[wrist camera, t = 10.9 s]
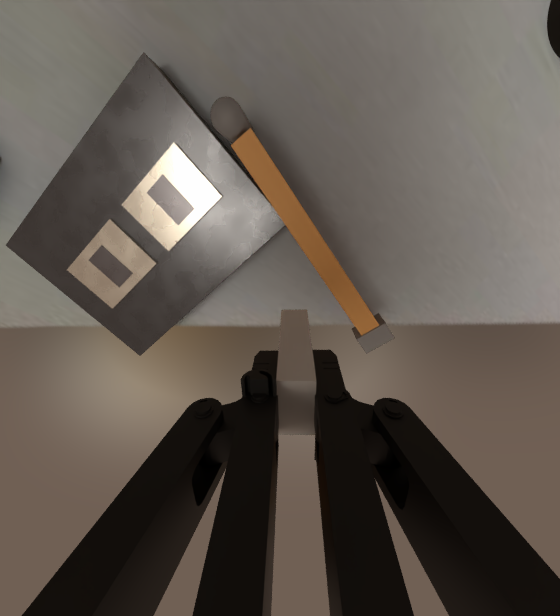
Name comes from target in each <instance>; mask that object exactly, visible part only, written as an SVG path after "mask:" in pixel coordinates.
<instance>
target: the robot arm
mask: <svg viewBox="0 0 560 616" xmlns="http://www.w3.org/2000/svg"><path fill="white" fill-rule="evenodd" d="M241 386H242V395H243V397H242V398H241V399H240V400H238V401H236V402H233V403H230V404H226V405H221V403H220V402H219V401H218V400H216V399H213V398H205V399H200V400H198V401H196V402H194V403H192V404H191V405H190V406H189V407H188V408H187V409H186V410H185V412H184V413H183V414H182V416H181V417H180V418H179V419H178V420H177V422H176V423H175V424H174V425H173V427H172V428H171V429H170V431H169V432H168V433H167V434H166V436H165V437H164V438H163V439H162V441H161V442H160V443H159V444H158V446H157V447H156V448H155V449H154V451H153V452H152V453H151V454H150V456H149V457H148V458H147V459H146V461H145V462H144V463H143V464H142V466H141V467H140V468H139V469H138V471H137V472H136V473H135V475H134V476H133V477H132V478H131V479H130V481H129V482H128V483H127V484H126V486H125V487H124V488H123V489H122V491H121V492H120V493H119V494H118V496H117V497H116V498H115V499H114V501H113V502H112V503H111V504H110V506H109V507H108V508H107V509H106V511H105V512H104V513H103V514H102V516H101V517H100V518H99V520H98V521H97V522H96V523H95V525H94V526H93V527H92V528H91V530H90V531H89V532H88V533H87V535H86V536H85V537H84V538H83V540H82V541H81V542H80V543H79V545H78V546H77V547H76V548H75V550H74V551H73V552H72V553H71V555H70V556H69V557H68V558H67V560H66V561H65V562H64V563H63V565H62V566H61V567H60V568H59V570H58V571H57V572H56V573H55V575H54V576H53V577H52V578H51V580H50V581H49V582H48V583H47V585H46V586H45V587H44V588H43V590H42V591H41V592H40V594H39V595H38V596H37V597H36V599H35V600H34V601H33V602H32V603H31V605H30V606H29V607H28V608H27V610H26V611H25V612H24V614H23V615H22V616H153V615H154V613H155V611H156V609H157V607H158V605H159V603H160V601H161V599H162V597H163V595H164V593H165V591H166V589H167V587H168V585H169V583H170V581H171V579H172V577H173V575H174V572H175V570H176V569H177V567H178V565H179V562H180V560H181V558H182V556H183V554H184V552H185V550H186V548H187V546H188V544H189V542H190V540H191V538H192V536H193V534H194V532H195V530H196V528H197V526H198V524H199V522H200V520H201V518H202V516H203V514H204V512H205V510H206V508H207V506H208V504H209V502H210V500H211V497H212V495H213V493H214V491H215V489H216V487H217V485H218V483H219V481H220V479H221V477H222V475H223V473H224V471H225V469H226V472H225V476H224V481H223V484H222V489H221V494H220V498H219V502H218V506H217V511H216V515H215V519H214V524H213V529H212V533H211V538H210V542H209V546H208V550H207V554H206V559H205V563H204V568H203V572H202V577H201V581H200V585H199V590H198V594H197V598H196V603H195V607H194V612H193V616H271V601H272V580H273V557H274V535H275V513H276V491H277V489H276V488H277V468H278V447H279V445H278V434H284V435H288V434H289V435H315V460H316V462H317V473H318V484H319V496H320V507H321V517H322V518H321V519H322V530H323V540H324V552H325V563H326V574H327V586H328V597H329V607H330V616H414V614H413V611H412V607H411V604H410V600H409V597H408V593H407V590H406V586H405V583H404V579H403V576H402V572H401V569H400V565H399V562H398V558H397V555H396V551H395V548H394V544H393V541H392V537H391V534H390V530H389V526H388V523H387V519H386V516H385V512H384V509H383V506H382V502H381V498H380V495H379V491H378V488H377V485H376V481H377V483H378V485H379V487H380V488H381V490H382V492H383V494H384V496H385V498H386V500H387V501H388V503H389V505H390V507H391V509H392V511H393V513H394V514H395V516H396V518H397V520H398V522H399V524H400V526H401V527H402V529H403V531H404V533H405V535H406V536H407V538H408V540H409V542H410V544H411V546H412V547H413V549H414V551H415V553H416V555H417V557H418V559H419V561H420V562H421V564H422V566H423V568H424V570H425V572H426V574H427V575H428V577H429V579H430V581H431V583H432V585H433V586H434V588H435V590H436V592H437V594H438V596H439V598H440V599H441V601H442V603H443V605H444V607H445V609H446V611H447V612H448V614H449V616H560V579H559V578H558V576H557V575H556V574H555V573H554V572H553V571H552V570H551V569H550V567H549V566H548V565H547V564H546V563H545V562H544V561H543V559H542V558H541V557H540V556H539V555H538V554H537V552H536V551H535V550H534V549H533V548H532V547H531V546H530V545H529V543H527V541H526V540H525V539H524V538H523V537H522V535H521V534H520V533H519V532H518V531H517V530H516V529H515V527H514V526H513V525H512V524H511V523H510V522H509V520H508V519H507V518H506V517H505V516H504V515H503V514H502V513H501V511H500V510H499V509H498V508H497V507H496V506H495V505H494V503H493V502H492V501H491V500H490V499H489V498H488V496H486V494H485V493H484V492H483V491H482V490H481V488H480V487H479V486H478V485H477V484H476V483H475V482H474V480H473V479H472V478H471V477H470V476H469V475H468V474H467V473H466V471H465V470H464V469H463V468H462V467H461V466H460V465H459V463H458V462H457V461H456V460H455V459H454V458H453V457H452V455H451V454H450V453H449V452H448V451H447V450H446V449H445V447H444V446H443V445H442V444H441V443H440V442H439V441H438V439H437V438H436V437H435V436H434V435H433V434H432V433H431V431H430V430H429V429H428V428H427V427H426V426H425V425H424V423H423V422H422V421H421V420H420V419H419V418H418V417H417V416H416V414H415V413H414V412H413V411H412V410H411V409H410V407H408V406H407V405H406V404H405V403H403V402H401V401H399V400H396V399H392V398H382V399H379V400H377V401H376V402H375V404H374V405H369V404H365V403H362V402H359V401H357V400H355V399H353V398H352V397H351V395H350V393H349V392H348V391H347V390H346V389H345V386H344V382H343V378H342V375H341V371H340V367H339V364H338V360H337V356H336V355H335V354H334V353H333V352H332V351H331V350H312V344H311V336H310V329H309V321H308V313H307V310H282V312H281V325H280V338H279V351H259V353H258V354H257V355H256V356H255V358H254V363H253V367H252V370H251V371H248V372H247V373H245V374H244V375H243V376H242V378H241ZM375 479H376V481H375Z"/></svg>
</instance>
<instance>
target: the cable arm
mask: <svg viewBox="0 0 560 616" xmlns="http://www.w3.org/2000/svg"><path fill="white" fill-rule="evenodd" d="M211 121H212V124H213V126H214V128H215V129H216V130H217V131H218V132H219V133H220V134H222V135H223V136H224V137H225V138H226V139H228V140H229V141H230V142H231V143H232V145H231V147H232V148H233V150H234V151H235V152H236V154H237V155H238V157H239V158H240V160H241V161H242V163H243V164H244V166H245V167H246V168H247V170H248V171H249V173H250V174H251V176H252V177H253V179H254V180H255V182H256V183H257V184H258V186H259V187H260V189H261V190H262V192H263V193H264V195H265V196H266V198H267V199H268V200H269V202H270V203H271V205H272V206H273V208H274V209H275V211H276V212H277V214H278V215H279V216H280V218H281V219H282V221H283V222H284V224H285V225H286V227H287V228H288V230H289V231H290V232H291V234H292V235H293V237H294V238H295V240H296V241H297V243H298V244H299V246H300V247H301V248H302V250H303V251H304V253H305V254H306V256H307V257H308V259H309V260H310V262H311V263H312V264H313V266H314V267H315V269H316V270H317V272H318V273H319V275H320V276H321V278H322V279H323V280H324V282H325V283H326V285H327V286H328V288H329V289H330V291H331V292H332V294H333V295H334V296H335V298H336V299H337V301H338V302H339V304H340V305H341V307H342V308H343V309H344V311H345V312H346V314H347V315H348V317H349V318H350V320H351V321H352V323H353V324H354V325H355V327H354V328H352V330H353V332H354V335H355V337H356V339H357V341H358V342H359V344H360V345H361V347H362V348H363V349H364V351H365V352H366V353H369V352H370V351H372V350H374V349H376V348H378V347H380V346H381V345H383V344H385V343H387V342H389V341H390V340H392V339H394V338H395V337H394V335H393V334H392V332H391V331H390V329H389V328H388V326H387V324H386V323H385V322H384V320H383V319H382V317H381V316H380V315H379V313H378V314H376V315H374V316H373V315H372V313H371V312H370V310H369V309H368V307H367V305H366V304H365V302H364V301H363V299H362V298H361V296H360V295H359V293H358V292H357V290H356V289H355V287H354V285H353V284H352V282H351V281H350V279H349V278H348V276H347V275H346V273H345V272H344V270H343V269H342V267H341V266H340V264H339V262H338V261H337V259H336V258H335V256H334V255H333V253H332V252H331V250H330V249H329V247H328V246H327V244H326V243H325V241H324V239H323V238H322V236H321V235H320V233H319V232H318V230H317V229H316V227H315V226H314V224H313V223H312V221H311V219H310V218H309V216H308V215H307V213H306V212H305V210H304V209H303V207H302V206H301V204H300V203H299V201H298V200H297V198H296V196H295V195H294V193H293V192H292V190H291V189H290V187H289V186H288V184H287V183H286V181H285V180H284V178H283V177H282V175H281V173H280V172H279V170H278V169H277V167H276V166H275V164H274V163H273V161H272V160H271V158H270V157H269V155H268V153H267V152H266V150H265V149H264V147H263V146H262V144H261V143H260V141H259V140H258V138H257V137H256V135H255V134H254V130H253V127H252V126H251V124H250V122H249V121H248V119H247V117H246V115H245V114H244V112H243V110H242V109H241V107H240V105H239V104H238V103H237V101H235V100H234V99H233V98H230V97H221V98H219V99H217V100H216V101H215V102H214V104H213V106H212V108H211Z"/></svg>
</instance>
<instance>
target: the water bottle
mask: <svg viewBox="0 0 560 616" xmlns="http://www.w3.org/2000/svg"><path fill="white" fill-rule="evenodd" d="M548 35H549V40H550V43H551V45H552V48H553V49H554V51H555V52H556V54H557V55H558V56H559V57H560V0H551V4H550V8H549V14H548Z"/></svg>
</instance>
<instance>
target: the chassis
mask: <svg viewBox="0 0 560 616" xmlns="http://www.w3.org/2000/svg"><path fill="white" fill-rule="evenodd" d="M284 225H285V224H284V222H283V221H282V219H281V218H280V216H279V215H278V214H277V212H276V211H275V209H274V208H273V206H272V205H271V203H270V202H269V200H268V199H267V198H266V196H265V195H264V193H263V192H262V190H261V189H260V188H259V187H258V186H257V184H256V183H255V182H254V181H253V179H252V178H251V177H250V176H249V175H248V173H247V172H246V171H245V170H244V169H243V167H242V166H241V165H240V164H239V163H238V161H237V160H236V159H235V158H234V157H233V155H232V154H231V153H230V152H229V151H228V149H227V148H226V147H225V146H224V145H223V143H222V142H221V141H220V140H219V139H218V137H217V136H216V135H215V134H214V132H213V131H212V130H211V129H210V128H209V126H208V125H207V124H206V123H205V122H204V120H203V119H202V118H201V117H200V116H199V114H198V113H197V112H196V111H195V110H194V108H193V107H192V106H191V105H190V104H189V102H188V101H187V100H186V99H185V98H184V96H183V95H182V94H181V93H180V92H179V90H178V89H177V88H176V87H175V85H174V84H173V83H172V82H171V81H170V79H169V78H168V77H167V76H166V75H165V73H164V72H163V71H162V70H161V69H160V67H159V66H157V65H156V64H155V63H154V62H153V61H152V60H151V59H150V58H149V57H148V56H147V55H146V54H145V53H144V52H143V54H142V55H141V57H140V58H139V59H138V61H137V62H136V64H135V65H134V66H133V68H132V69H131V71H130V72H129V73H128V75H127V76H126V78H125V79H124V80H123V82H122V83H121V85H120V86H119V87H118V89H117V90H116V92H115V93H114V94H113V96H112V97H111V99H110V100H109V101H108V103H107V104H106V106H105V107H104V108H103V110H102V111H101V113H100V114H99V115H98V117H97V118H96V120H95V121H94V122H93V124H92V125H91V127H90V128H89V129H88V131H87V132H86V134H85V135H84V136H83V138H82V139H81V141H80V142H79V143H78V145H77V146H76V148H75V149H74V150H73V152H72V153H71V155H70V156H69V157H68V159H67V160H66V162H65V163H64V164H63V166H62V167H61V169H60V170H59V171H58V173H57V174H56V176H55V177H54V178H53V180H52V181H51V183H50V184H49V185H48V187H47V188H46V190H45V191H44V192H43V194H42V195H41V197H40V198H39V199H38V201H37V202H36V204H35V205H34V206H33V208H32V209H31V211H30V212H29V213H28V215H27V216H26V218H25V219H24V220H23V222H22V223H21V225H20V226H19V227H18V229H17V230H16V232H15V233H14V234H13V236H12V237H11V239H10V240H9V241H8V243H7V244H6V246H7V247H8V248H10V249H11V250H12V251H13V252H15V253H16V254H17V255H18V256H19V257H21V258H22V259H23V260H24V261H25V262H27V263H28V264H29V265H30V266H32V267H33V268H34V269H35V270H36V271H38V272H39V273H40V274H41V275H42V276H44V277H45V278H46V279H47V280H49V281H50V282H51V283H52V284H53V285H55V286H56V287H57V288H58V289H59V290H61V291H62V292H63V293H64V294H66V295H67V296H68V297H69V298H70V299H72V300H73V301H74V302H75V303H76V304H78V305H79V306H80V307H81V308H83V309H84V310H85V311H86V312H87V313H89V314H90V315H91V316H92V317H93V318H95V319H96V320H97V321H98V322H100V323H101V324H102V325H103V326H104V327H106V328H107V329H108V330H110V331H111V332H112V333H113V334H114V335H115V336H117V337H118V338H119V339H120V340H121V341H123V342H124V343H125V344H126V345H127V346H129V347H130V348H131V349H132V350H134V351H135V352H136V353H137V354H138V355H142V354H143V353H144V352H145V351H146V350H147V349H148V348H149V347H150V346H152V344H154V343H155V342H156V341H157V340H158V339H159V338H160V337H161V336H163V335H164V334H165V333H166V332H167V331H168V330H169V329H170V328H171V327H173V326H174V325H175V324H176V323H177V322H178V321H179V320H180V319H181V318H183V317H184V316H185V315H186V314H187V313H188V312H189V311H190V310H191V309H193V308H194V307H195V306H196V305H197V304H198V303H199V302H200V301H201V300H203V299H204V298H205V297H206V296H207V295H208V294H209V293H210V292H211V291H212V290H214V289H215V288H216V287H217V286H218V285H219V284H220V283H221V282H222V281H224V280H225V279H226V278H227V277H228V276H229V275H230V274H231V273H232V272H234V271H235V270H236V269H237V268H238V267H239V266H240V265H241V264H242V263H243V262H245V261H246V260H247V259H248V258H249V257H250V256H251V255H252V254H253V253H255V252H256V251H257V250H258V249H259V248H260V247H261V246H262V245H263V244H265V243H266V242H267V241H268V240H269V239H270V238H271V237H272V236H273V235H275V234H276V233H277V232H278V231H279V230H280V229H281V228H282V227H283V226H284Z"/></svg>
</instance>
